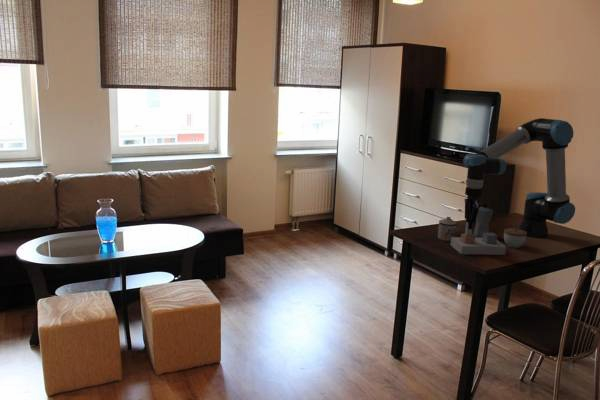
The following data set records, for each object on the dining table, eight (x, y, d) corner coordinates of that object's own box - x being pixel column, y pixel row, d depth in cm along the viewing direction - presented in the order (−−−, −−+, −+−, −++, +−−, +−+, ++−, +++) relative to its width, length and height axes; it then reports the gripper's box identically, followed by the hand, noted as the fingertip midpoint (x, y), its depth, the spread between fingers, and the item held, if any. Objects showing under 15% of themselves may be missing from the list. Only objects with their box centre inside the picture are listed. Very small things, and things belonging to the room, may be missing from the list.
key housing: (492, 245, 265) (493, 237, 264) (505, 254, 251) (506, 246, 251) (450, 244, 263) (451, 237, 262) (461, 254, 249) (462, 246, 248)
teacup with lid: (445, 242, 267) (448, 220, 265) (433, 237, 275) (435, 215, 272) (463, 239, 273) (465, 218, 270) (450, 234, 281) (452, 213, 278)
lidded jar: (522, 250, 259) (525, 232, 257) (500, 246, 264) (502, 228, 262) (526, 245, 268) (529, 227, 266) (504, 241, 273) (507, 223, 271)
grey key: (491, 241, 260) (492, 232, 259) (496, 244, 255) (497, 235, 254) (482, 241, 259) (483, 232, 258) (486, 244, 254) (487, 235, 253)
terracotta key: (470, 242, 259) (471, 233, 258) (474, 245, 254) (475, 236, 253) (460, 242, 258) (461, 233, 257) (464, 245, 253) (465, 236, 252)
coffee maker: (495, 238, 277) (500, 205, 273) (482, 239, 274) (486, 206, 270) (477, 230, 291) (481, 199, 287) (464, 231, 288) (467, 199, 284)
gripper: (461, 184, 256) (455, 230, 261) (472, 190, 243) (466, 238, 248) (476, 184, 256) (470, 231, 262) (487, 190, 244) (481, 239, 249)
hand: (468, 234), depth 255 cm, fingers closed
